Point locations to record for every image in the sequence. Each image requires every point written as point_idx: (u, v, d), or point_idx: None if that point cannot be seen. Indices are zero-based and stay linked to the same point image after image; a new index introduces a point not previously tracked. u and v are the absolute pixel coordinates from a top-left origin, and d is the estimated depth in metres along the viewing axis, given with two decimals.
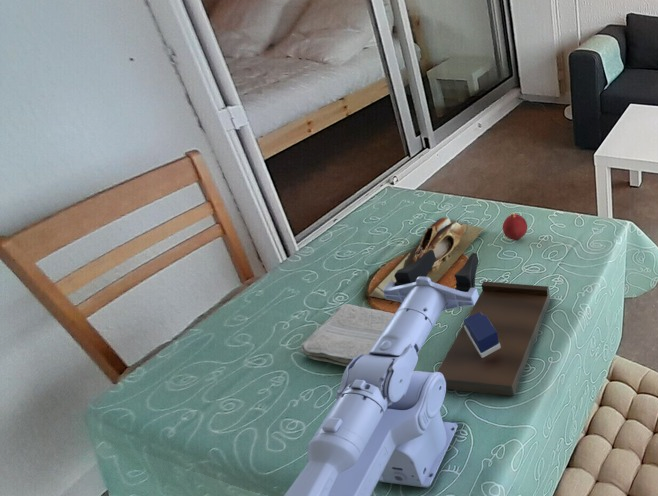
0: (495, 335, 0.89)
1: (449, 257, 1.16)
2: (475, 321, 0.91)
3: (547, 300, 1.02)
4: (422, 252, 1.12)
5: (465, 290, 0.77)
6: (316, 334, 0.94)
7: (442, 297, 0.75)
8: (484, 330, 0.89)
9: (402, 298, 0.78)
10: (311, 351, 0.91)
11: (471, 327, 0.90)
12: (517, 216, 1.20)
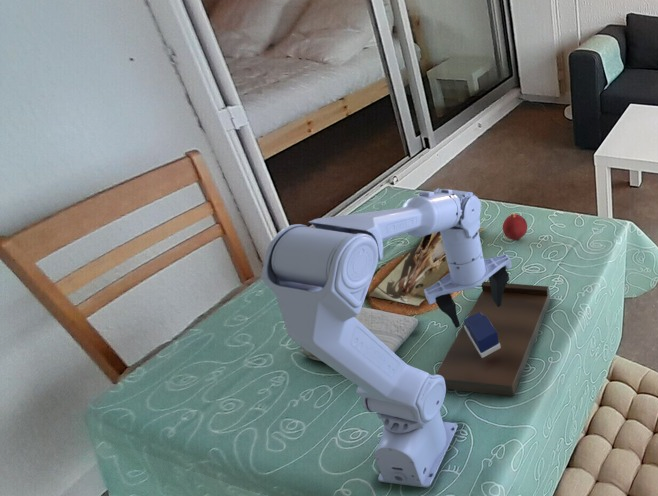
0: (495, 335, 0.89)
1: None
2: (475, 321, 0.91)
3: (547, 300, 1.02)
4: (422, 252, 1.12)
5: None
6: None
7: None
8: (484, 330, 0.89)
9: (444, 288, 0.83)
10: None
11: (471, 327, 0.90)
12: (517, 216, 1.20)
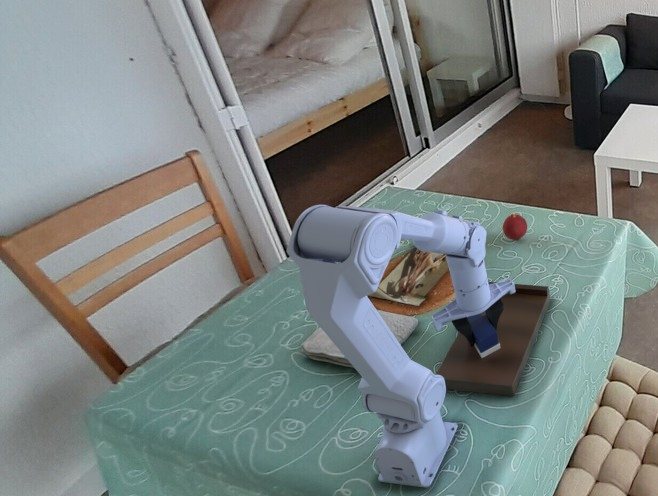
0: (495, 335, 0.89)
1: None
2: (475, 321, 0.91)
3: (547, 300, 1.02)
4: (422, 252, 1.12)
5: None
6: (316, 334, 0.94)
7: None
8: (484, 330, 0.89)
9: (450, 314, 0.85)
10: (311, 351, 0.91)
11: (471, 327, 0.90)
12: (517, 216, 1.20)
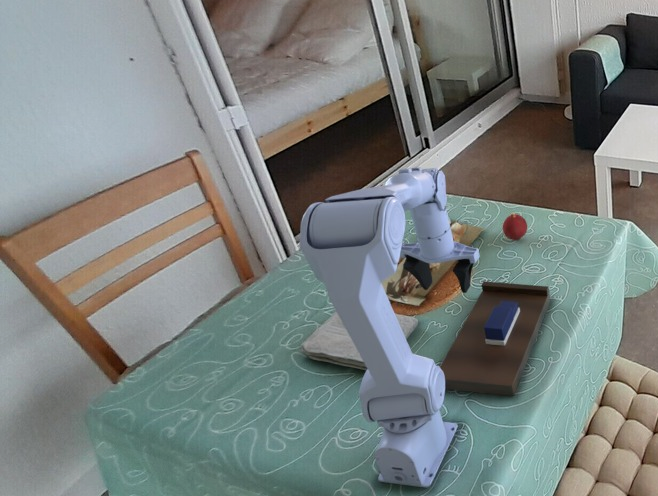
0: (500, 331, 0.90)
1: None
2: (500, 308, 0.94)
3: (547, 300, 1.02)
4: None
5: None
6: (316, 334, 0.94)
7: (453, 245, 0.91)
8: (496, 321, 0.91)
9: (413, 250, 0.91)
10: (311, 351, 0.91)
11: (492, 311, 0.93)
12: (517, 216, 1.20)
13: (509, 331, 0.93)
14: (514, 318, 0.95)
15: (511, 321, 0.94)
